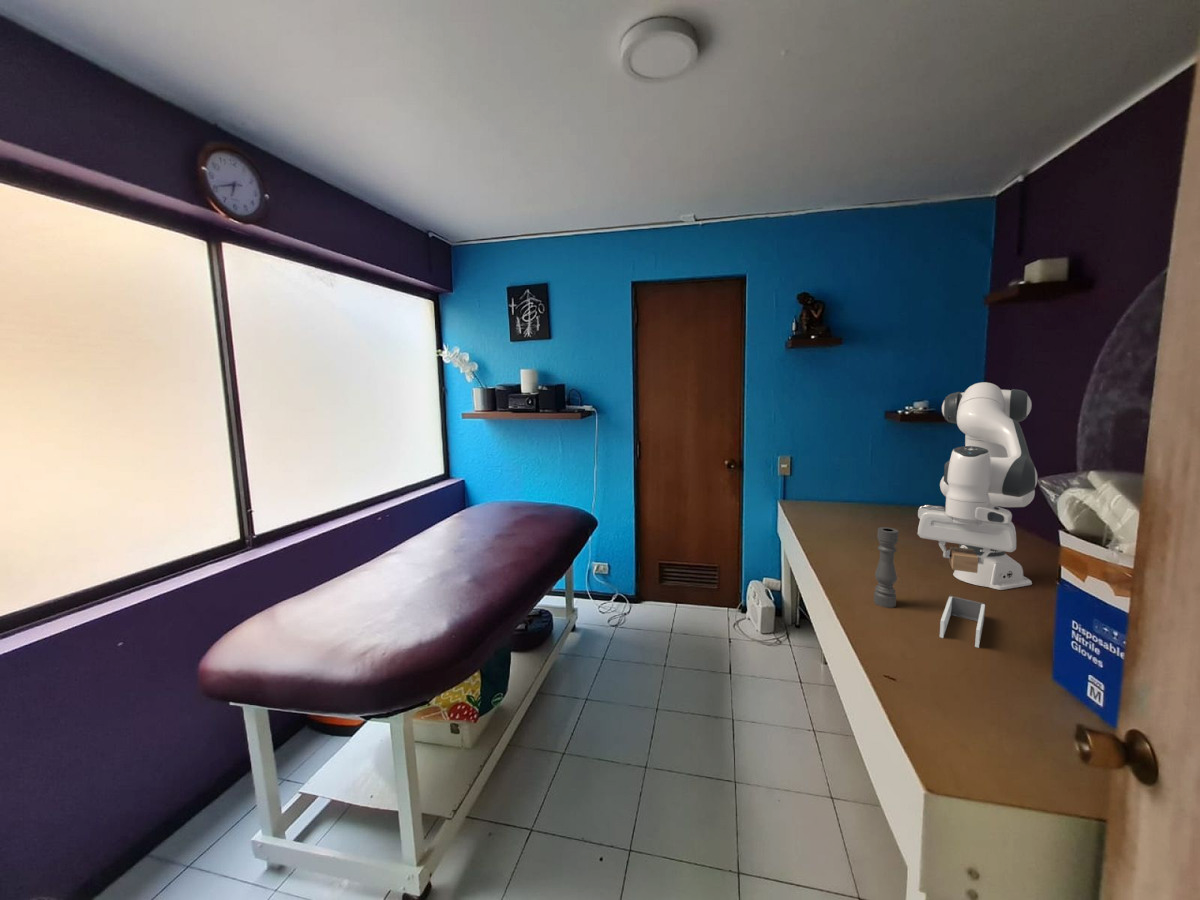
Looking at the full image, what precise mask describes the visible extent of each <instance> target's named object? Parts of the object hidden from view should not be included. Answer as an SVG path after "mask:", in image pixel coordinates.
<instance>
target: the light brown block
mask: <svg viewBox="0 0 1200 900" xmlns="http://www.w3.org/2000/svg"><path fill="white" fill-rule="evenodd" d="M949 550H950V551H951V556H950V558H948V562H949V565H950V566H951V570H953V571H955V570H959V571H966V572H973V573H977V570H978V557H977V555H976V553H975V551H974V550H973V549H966V548H959V546H958V547H956V546H949Z"/></svg>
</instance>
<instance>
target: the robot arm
mask: <svg viewBox="0 0 1200 900" xmlns="http://www.w3.org/2000/svg"><path fill="white" fill-rule="evenodd" d="M1031 410H1032V400H1031V398H1030V396H1029V394H1028V392H1026V391H1025V390H1021V389H1015V388H1011V390H1010V389H1001V388H1000V387H999V386H998V385H996V384H994V383H991V382H986V381H985V382H977V383H974V384H972V385H970V386H969V387H968V388H966V389H965V390H964V392H960V391H957V392H953V393H950V394H948V395H947V396H945V398H944V400H943V402H942V405H941V413H942V416H943V417H944V420H945V421H947V422H948V423H951V424H956V425H957V427H958V429H959V430H960V431H961V432H962V433H963V434H965V436H964V437H965V438H964V439H965V440H964V441H965V442H964V445H965V446H964V445H963V446H957V447H955V448H953V449H952V451H951V455H950V459H949V460H948V461H946V462H945V463H944V466H943V467H944V469H943V470H944V472H943V476H942V478H941V480H940V482H939V487H940V488H939V489H940V492H941V493H942V494H943V496H944V497H945V506H942V505H931V504H924V505H921V506H920V507H919V508H918V510H917V517H918V519H919V523H918V527H917V535H918V536H919V538H920V539H925V540H930V541H938V546H939V547H940V549H941V551H942V552H943V553H942V558H945V559H949V558H950V556H951V551H950V549H947V546H945V545H946V544H947V543H951V544H958V548H966V549H973V550H974V551H975V553H976V555H977V557H978V570H977V573H973V572H966V571H959V570H953V573H952V575H953V576H954V578H956V579H957V580H959V581H962V582H964V583H968V584H971V585H975V586H980V587H986V588H990V589H994V590H1000V591H1004V590H1009V589H1014V588H1021V587H1026V586H1031V585H1032V584H1033V583H1032V580H1031V579H1030V578H1028V577H1026V576H1024V569H1023V566H1022V565H1021V564H1020V563H1019V562H1017V560H1014V559H1013V558H1012V557H1010V556H1009V555H1008V554H1007V553H1013V552H1015V551H1016V550H1017V532H1016V527H1015V525H1014V523H1013V522H1012V518H1013V514H1012V512H1011V511H1010V510H1009V509H1005V508H1025V507H1027V506H1028V505H1029V504H1031V502H1033V500H1034V498H1035V494H1036V490H1035V488H1036V486H1037V483H1038V472H1037V470H1036V467H1035V464H1034V462H1033V460H1032V458H1031V455H1030V452H1029V449H1028V448H1029V447H1028V444H1027V441H1026V438H1025V435H1024V432H1023V429H1022V427H1021V425H1020V423H1019V422H1022V421H1024V420H1025V419H1027V417H1028V415H1029V414H1030V412H1031ZM1006 552H1007V553H1006Z"/></svg>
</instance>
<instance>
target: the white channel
mask: <svg viewBox="0 0 1200 900" xmlns="http://www.w3.org/2000/svg"><path fill="white" fill-rule="evenodd" d="M985 611H986V603H985V602H984V603H983V602H980V601H976V600H971V599H965V598H962V597H958V596H953V595H949V596H948V599H947V601H946V604H945V608H944V610H943V612H942V616H941V618H940V623H939V626H940V627H939V638H942V639H944V637H945V633H946V630H947V627H948V625H949V621H950V618H951V616H954V617H958V618H962V619H966V620H970V621H974V622H977V624H976V629H975V639H974V641H975V642H974V647H975V648H980V643H981V637H982V633H983V626H984V622H985Z"/></svg>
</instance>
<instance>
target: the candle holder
mask: <svg viewBox="0 0 1200 900" xmlns="http://www.w3.org/2000/svg"><path fill="white" fill-rule="evenodd" d="M877 540H878V542H879V545H878V546H877V550H879V560H878V563H877V567H876V569H875V573H874V576H875V580H876V581H877V585H876V586H875V587H874V589H875V590H874V593H873V603H874V604H875V605H877V606H879V607H881V608H888V609H890V608H891V609H892V608H895V607H896V606H897V594H896V589H895V588H894V584H895V583H896V582H897V581H898V576H897V572H896V567H895V564H894V562H895V561H894V560H895V559H894V557H895V556H894V555H895V553H896V552H897V547H895V546H896V545H897V543H898V541H899V530H898V529H896V528H894V527H888V526H887V527H886V526H885V527H884V526H882V527H878V528H877Z"/></svg>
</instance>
